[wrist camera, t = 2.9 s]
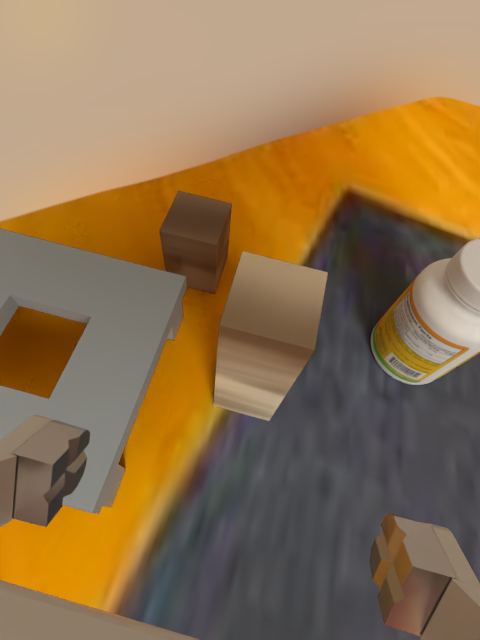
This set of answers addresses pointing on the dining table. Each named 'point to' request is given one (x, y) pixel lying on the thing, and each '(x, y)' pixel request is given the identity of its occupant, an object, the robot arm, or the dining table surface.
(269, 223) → the dining table surface
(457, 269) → the supplement bottle
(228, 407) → the maple peg
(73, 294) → the collar stand
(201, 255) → the walnut peg
